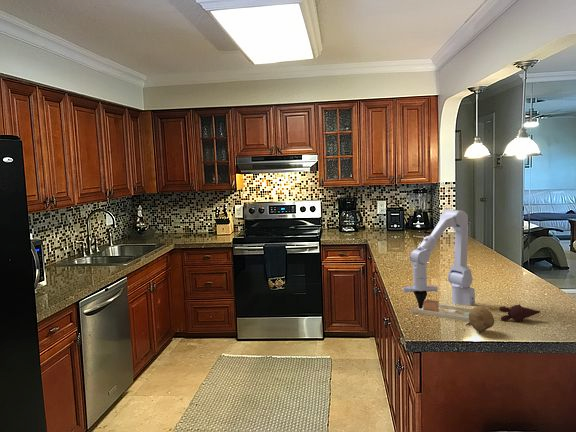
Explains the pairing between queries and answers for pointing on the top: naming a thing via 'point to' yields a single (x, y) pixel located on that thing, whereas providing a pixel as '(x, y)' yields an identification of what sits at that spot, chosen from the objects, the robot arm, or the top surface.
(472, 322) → the natural sponge
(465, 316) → the lane
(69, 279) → the top surface
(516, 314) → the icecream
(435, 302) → the block
